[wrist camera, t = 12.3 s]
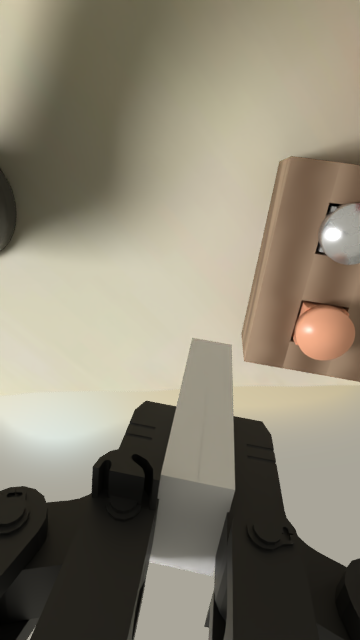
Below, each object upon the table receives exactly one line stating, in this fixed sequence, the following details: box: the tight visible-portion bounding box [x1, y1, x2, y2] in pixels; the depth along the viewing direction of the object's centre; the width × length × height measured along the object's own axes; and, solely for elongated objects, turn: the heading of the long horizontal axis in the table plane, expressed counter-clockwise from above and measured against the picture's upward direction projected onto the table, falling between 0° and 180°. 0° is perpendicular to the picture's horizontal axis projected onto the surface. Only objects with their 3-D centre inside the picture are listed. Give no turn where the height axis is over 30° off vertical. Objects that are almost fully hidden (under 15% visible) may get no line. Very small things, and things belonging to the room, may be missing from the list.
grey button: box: [316, 203, 360, 265], centre depth 35 cm, size 6×6×8 cm
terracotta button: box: [292, 300, 355, 360], centre depth 38 cm, size 6×6×8 cm
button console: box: [242, 156, 360, 382], centre depth 39 cm, size 14×22×8 cm, turn 173°
